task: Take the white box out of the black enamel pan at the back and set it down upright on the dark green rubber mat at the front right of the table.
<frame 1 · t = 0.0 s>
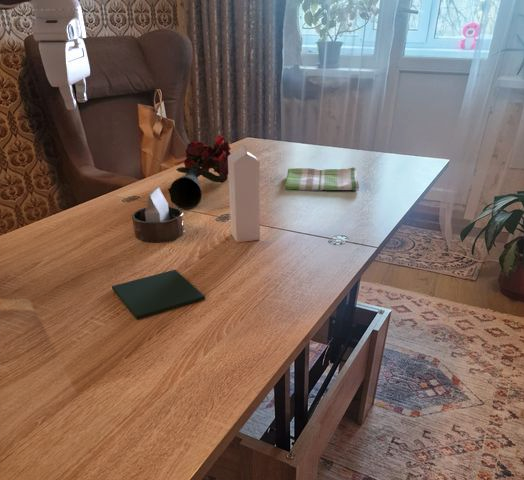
hand: (77, 105, 103), 30 cm above the table, tool pointing down, fingers open, 8 cm apart
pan: (159, 233, 123), on the table
dish towel: (321, 184, 157), on the table
white box: (159, 231, 122), resting on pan
black vase with roses: (202, 192, 151), on the table
mat: (157, 294, 96), on the table
milk: (245, 237, 121), on the table
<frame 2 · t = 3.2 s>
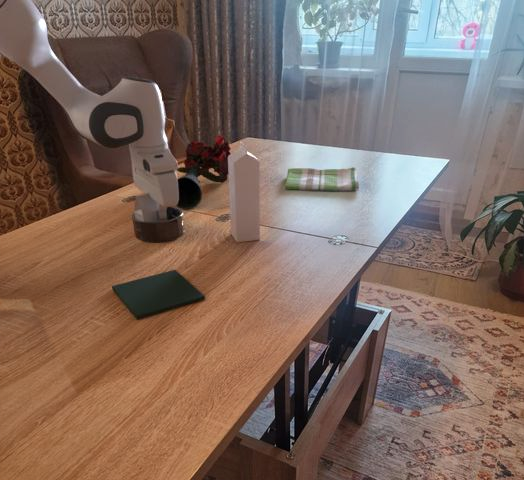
hand: (158, 214, 120), 5 cm above the table, tool pointing down, fingers closed on white box, 4 cm apart
white box: (153, 233, 121), resting on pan, touching gripper
everything else where it was.
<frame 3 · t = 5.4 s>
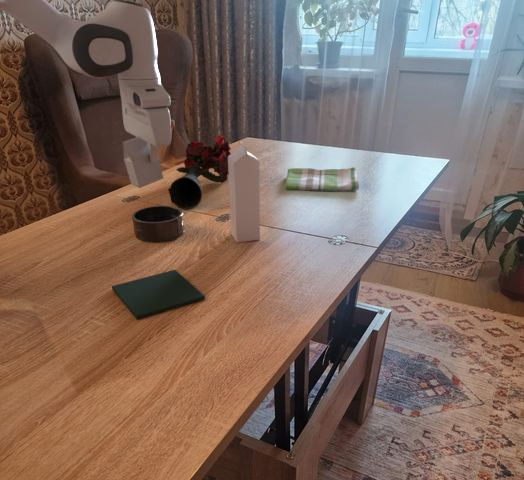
hand: (149, 159, 112), 18 cm above the table, tool pointing down, fingers closed on white box, 4 cm apart
white box: (147, 182, 114), point 13 cm above the table, touching gripper
everything else where it was.
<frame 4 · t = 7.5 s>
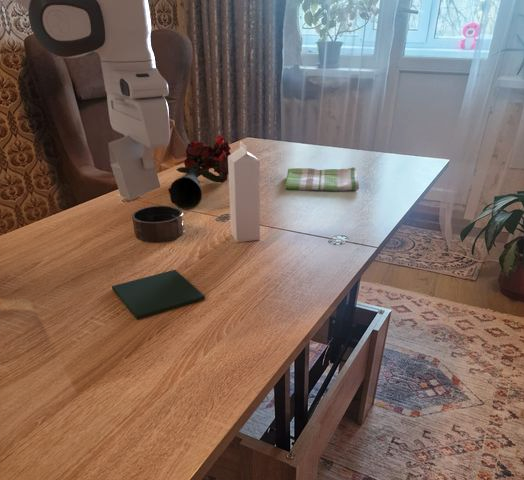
hand: (142, 164, 90), 23 cm above the table, tool pointing down, fingers closed on white box, 4 cm apart
white box: (141, 192, 92), point 18 cm above the table, touching gripper
everything else where it was.
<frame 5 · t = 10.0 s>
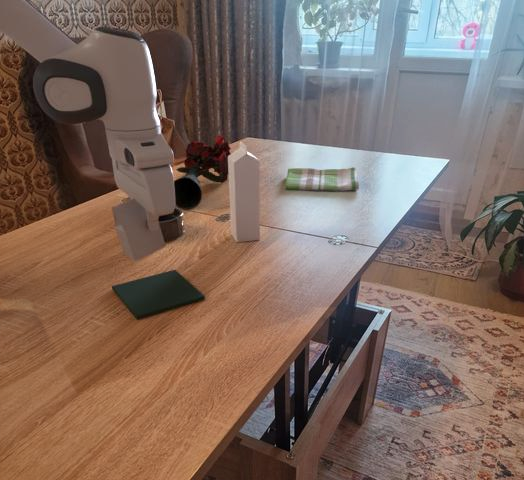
hand: (147, 224, 88), 14 cm above the table, tool pointing down, fingers closed on white box, 4 cm apart
white box: (145, 251, 90), point 9 cm above the table, touching gripper
everything else where it was.
when the fingers open (6 cm above the table, at t = 12.1 s): white box stays where it is, resting on mat.
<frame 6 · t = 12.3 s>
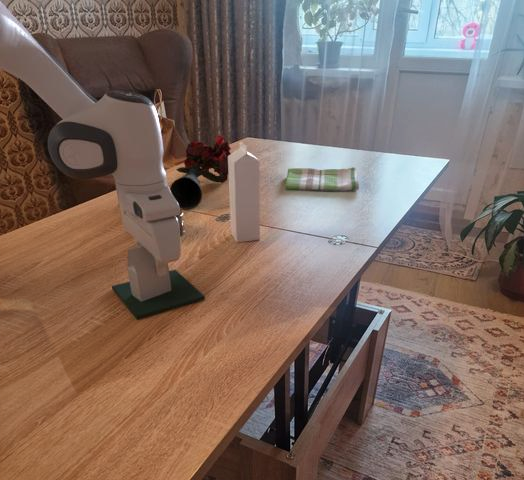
hand: (153, 266, 93), 6 cm above the table, tool pointing down, fingers open, 6 cm apart
white box: (152, 293, 95), point 1 cm above the table, touching mat
everything else where it was.
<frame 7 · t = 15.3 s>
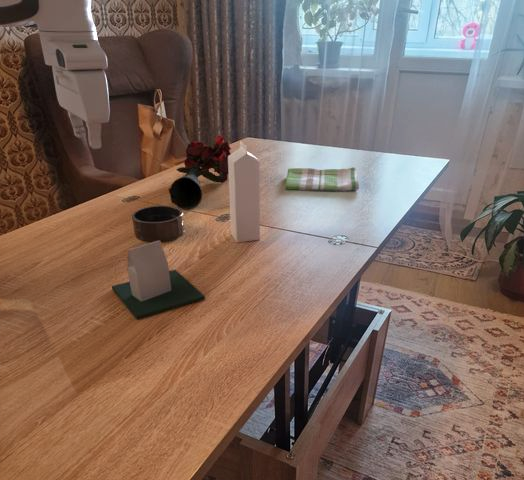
hand: (88, 142, 87), 27 cm above the table, tool pointing down, fingers open, 8 cm apart
nothing on the table moved.
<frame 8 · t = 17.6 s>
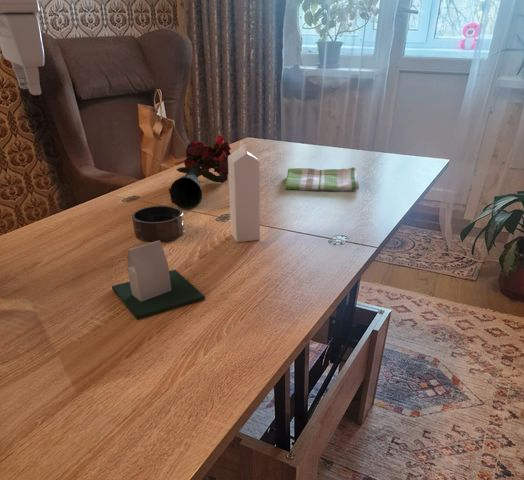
hand: (30, 91, 90), 34 cm above the table, tool pointing down, fingers open, 8 cm apart
nothing on the table moved.
at the end: white box inside the target area on the mat (1.2 cm from its centre), point 0.6 cm above the mat's base; white box tilted 0° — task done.
